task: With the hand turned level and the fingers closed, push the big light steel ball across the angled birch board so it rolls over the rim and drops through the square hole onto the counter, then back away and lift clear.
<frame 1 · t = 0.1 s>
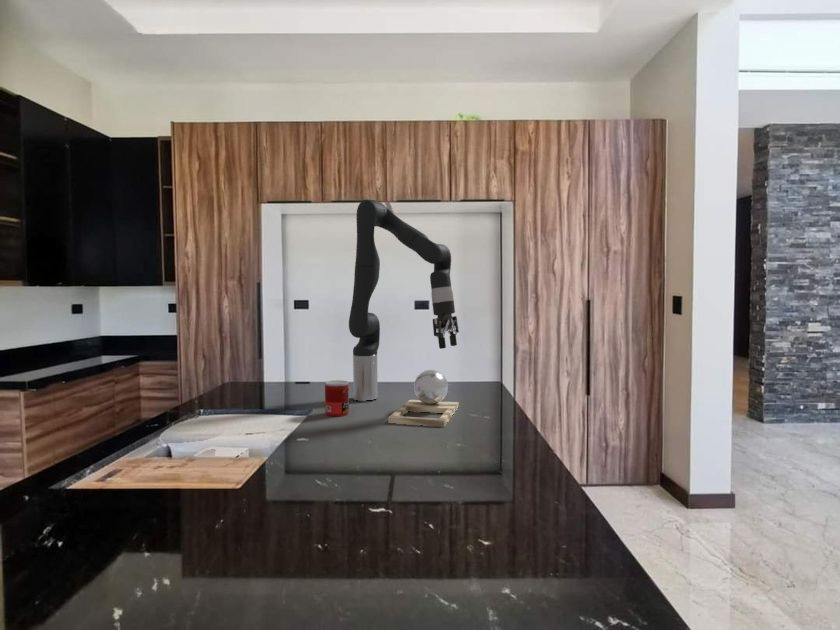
hand: (448, 347, 180), 22 cm above the worktop, tool pointing down, fingers open, 8 cm apart
ball: (430, 387, 182), point 8 cm above the worktop, touching hole board
canned food: (337, 414, 176), on the worktop
hole board: (425, 415, 174), on the worktop
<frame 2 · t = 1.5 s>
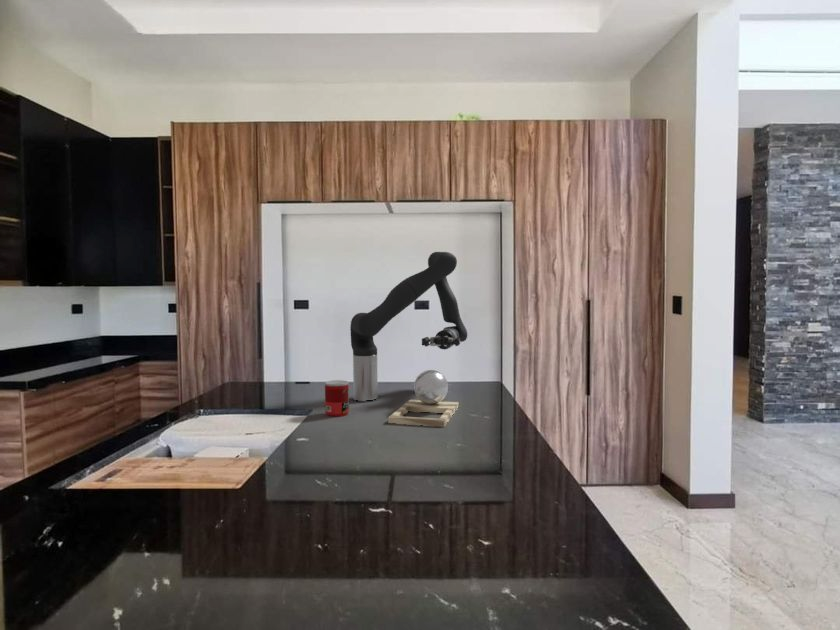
hand: (436, 343, 190), 22 cm above the worktop, tool horizontal, fingers open, 8 cm apart
nothing on the worktop moved.
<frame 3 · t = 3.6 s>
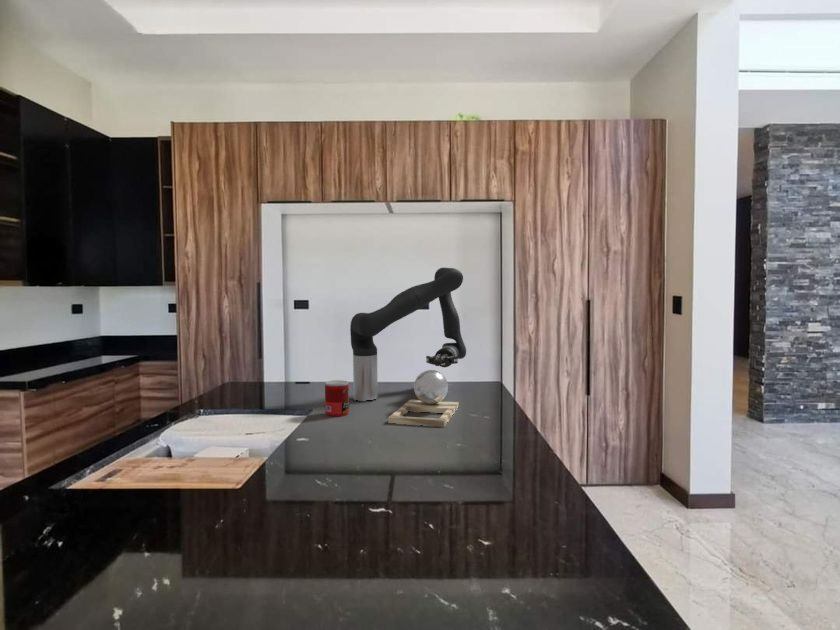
hand: (437, 363, 190), 15 cm above the worktop, tool horizontal, fingers closed
nothing on the worktop moved.
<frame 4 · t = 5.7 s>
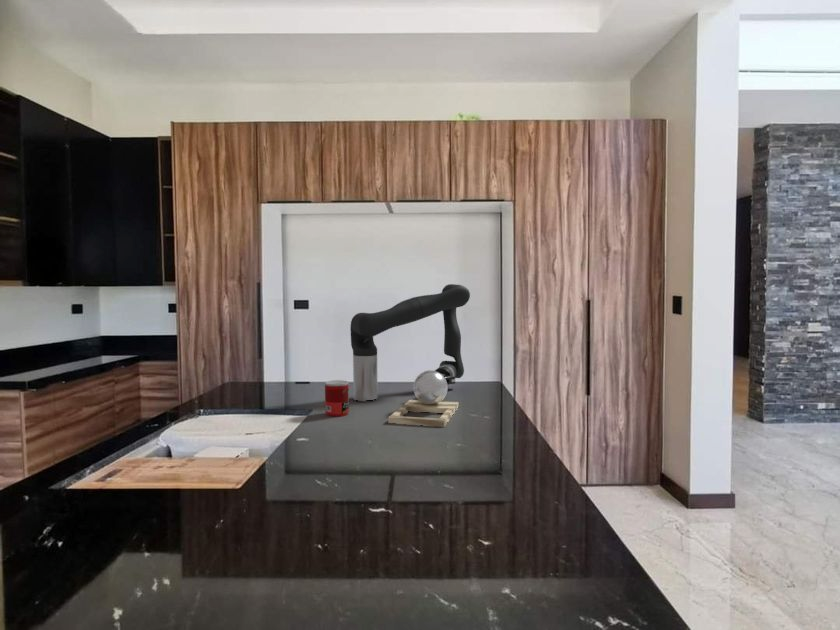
hand: (434, 383, 187), 8 cm above the worktop, tool horizontal, fingers closed
ball: (430, 387, 181), point 8 cm above the worktop, tilted 8°, touching hole board
everything else where it was.
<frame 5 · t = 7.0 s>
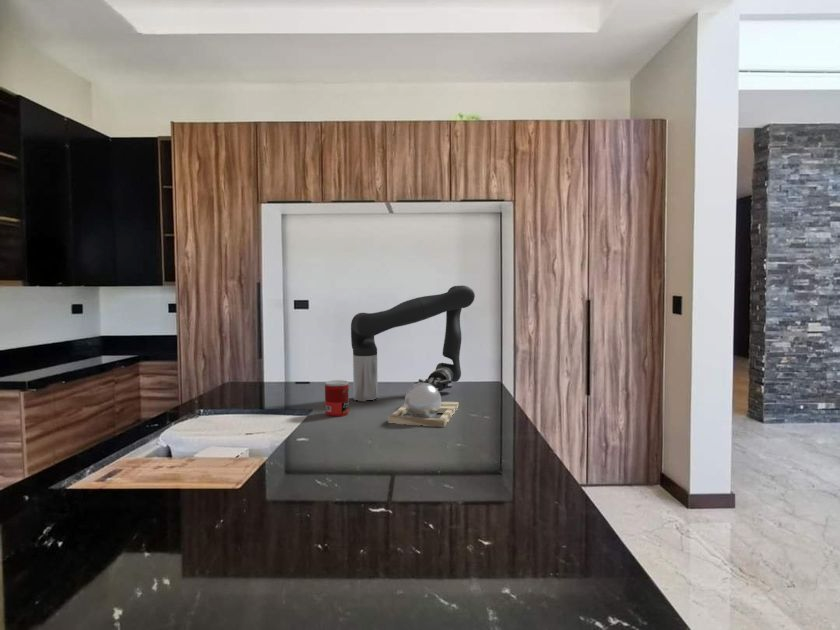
hand: (429, 388, 179), 8 cm above the worktop, tool horizontal, fingers closed
ball: (422, 401, 169), point 6 cm above the worktop, tilted 134°
everything else where it was.
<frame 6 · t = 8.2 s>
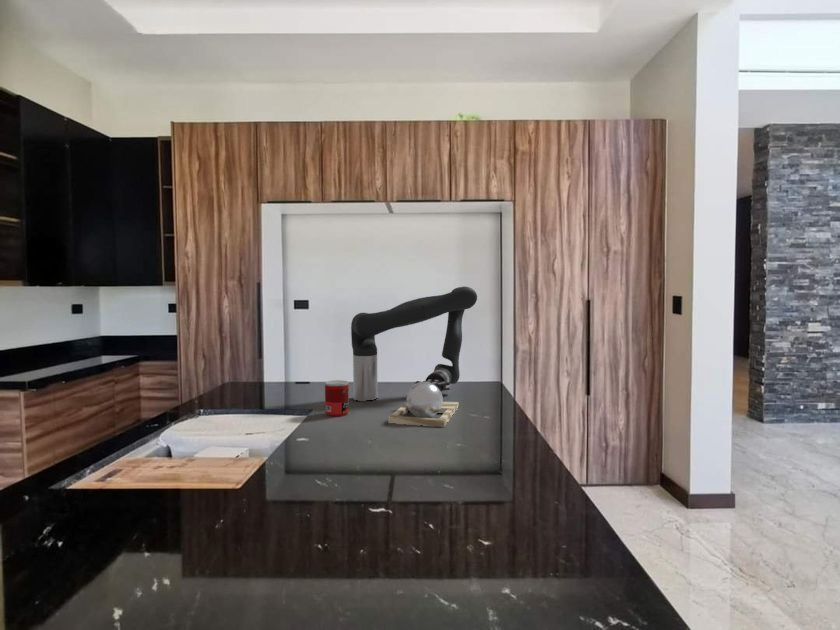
hand: (427, 390, 176), 8 cm above the worktop, tool horizontal, fingers closed
ball: (424, 400, 170), point 6 cm above the worktop, tilted 119°, touching gripper
everything else where it was.
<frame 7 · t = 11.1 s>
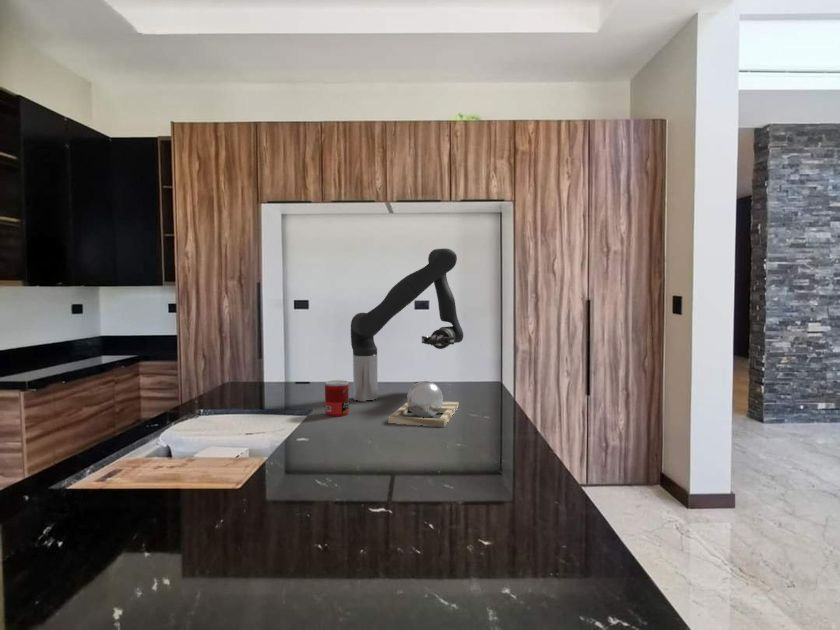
hand: (432, 342, 184), 23 cm above the worktop, tool horizontal, fingers closed
ball: (425, 399, 172), point 6 cm above the worktop, tilted 106°
everything else where it was.
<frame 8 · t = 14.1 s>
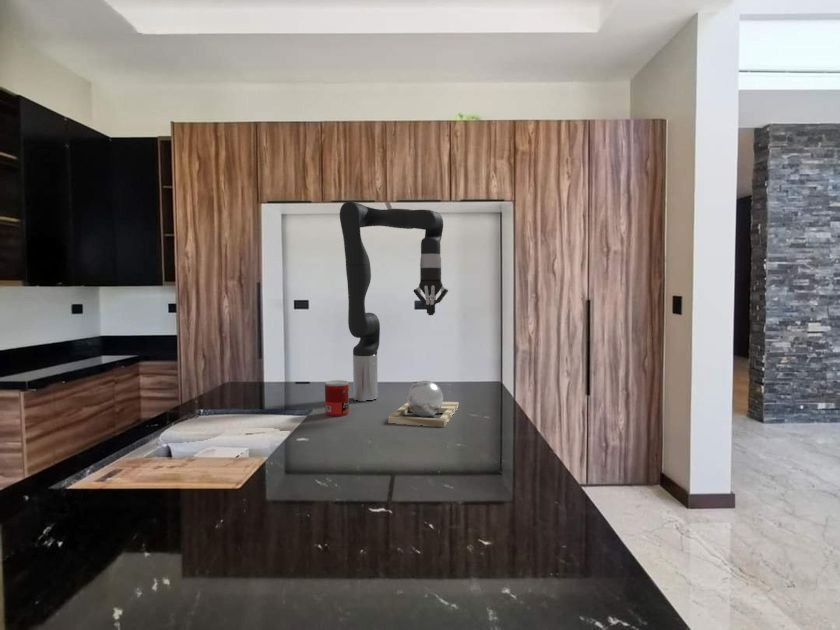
hand: (430, 315, 186), 33 cm above the worktop, tool pointing down, fingers closed
ball: (425, 398, 172), point 6 cm above the worktop, tilted 98°
everything else where it was.
at the end: ball inside the target area on the hole board (2.6 cm from its centre), point 6.0 cm above the hole board's base; ball touching worktop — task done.
